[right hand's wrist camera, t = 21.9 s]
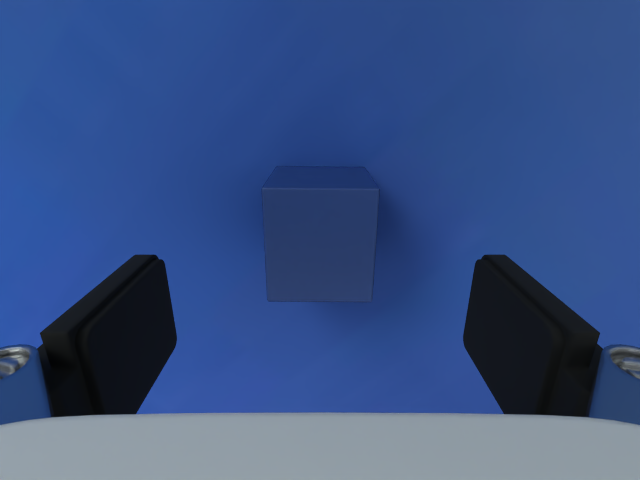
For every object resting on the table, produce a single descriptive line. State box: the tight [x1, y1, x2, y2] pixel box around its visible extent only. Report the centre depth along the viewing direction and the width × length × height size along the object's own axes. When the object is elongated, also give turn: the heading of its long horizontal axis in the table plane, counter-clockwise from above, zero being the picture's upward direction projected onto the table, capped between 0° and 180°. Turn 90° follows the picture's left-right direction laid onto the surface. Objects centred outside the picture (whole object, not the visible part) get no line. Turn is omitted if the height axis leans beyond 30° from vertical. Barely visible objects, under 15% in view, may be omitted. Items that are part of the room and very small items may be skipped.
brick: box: [262, 167, 380, 302], centre depth 17 cm, size 5×5×5 cm
